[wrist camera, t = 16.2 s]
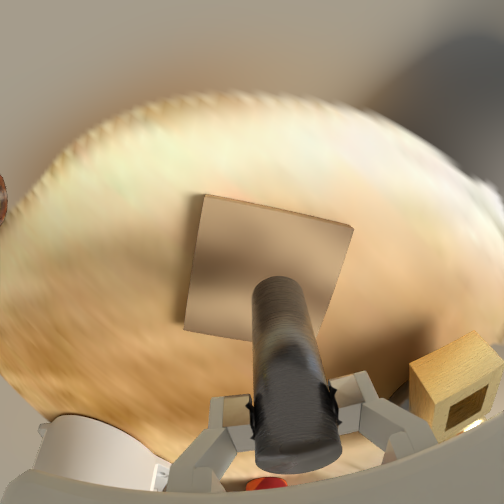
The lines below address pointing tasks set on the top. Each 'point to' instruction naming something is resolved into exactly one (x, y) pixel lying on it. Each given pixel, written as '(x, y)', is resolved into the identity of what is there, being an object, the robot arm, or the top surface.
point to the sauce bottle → (3, 200)
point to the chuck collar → (455, 385)
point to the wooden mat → (259, 263)
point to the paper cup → (265, 483)
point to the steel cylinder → (289, 384)
